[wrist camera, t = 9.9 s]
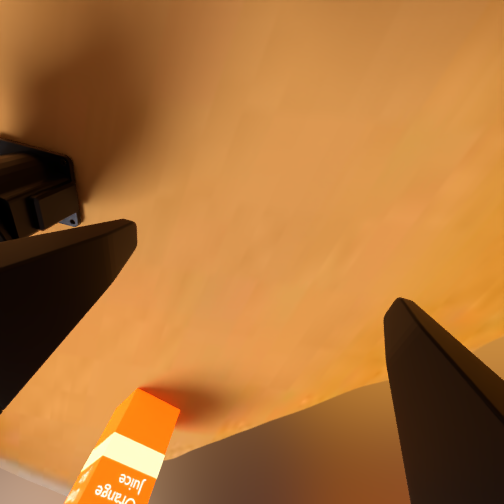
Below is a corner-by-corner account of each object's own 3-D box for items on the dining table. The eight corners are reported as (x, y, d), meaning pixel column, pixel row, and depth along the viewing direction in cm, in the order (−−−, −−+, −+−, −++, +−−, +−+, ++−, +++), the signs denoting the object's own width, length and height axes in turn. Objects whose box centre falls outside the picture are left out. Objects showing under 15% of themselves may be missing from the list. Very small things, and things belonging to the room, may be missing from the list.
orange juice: (115, 408, 43) (2, 611, 26) (137, 387, 39) (19, 613, 22) (156, 428, 45) (75, 630, 28) (181, 410, 41) (103, 635, 24)
